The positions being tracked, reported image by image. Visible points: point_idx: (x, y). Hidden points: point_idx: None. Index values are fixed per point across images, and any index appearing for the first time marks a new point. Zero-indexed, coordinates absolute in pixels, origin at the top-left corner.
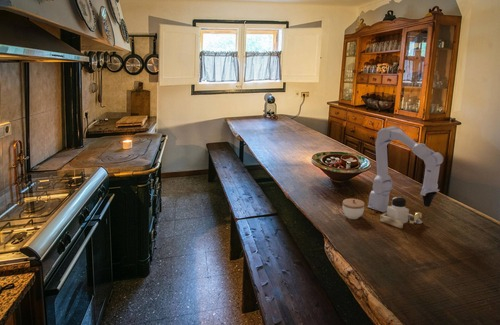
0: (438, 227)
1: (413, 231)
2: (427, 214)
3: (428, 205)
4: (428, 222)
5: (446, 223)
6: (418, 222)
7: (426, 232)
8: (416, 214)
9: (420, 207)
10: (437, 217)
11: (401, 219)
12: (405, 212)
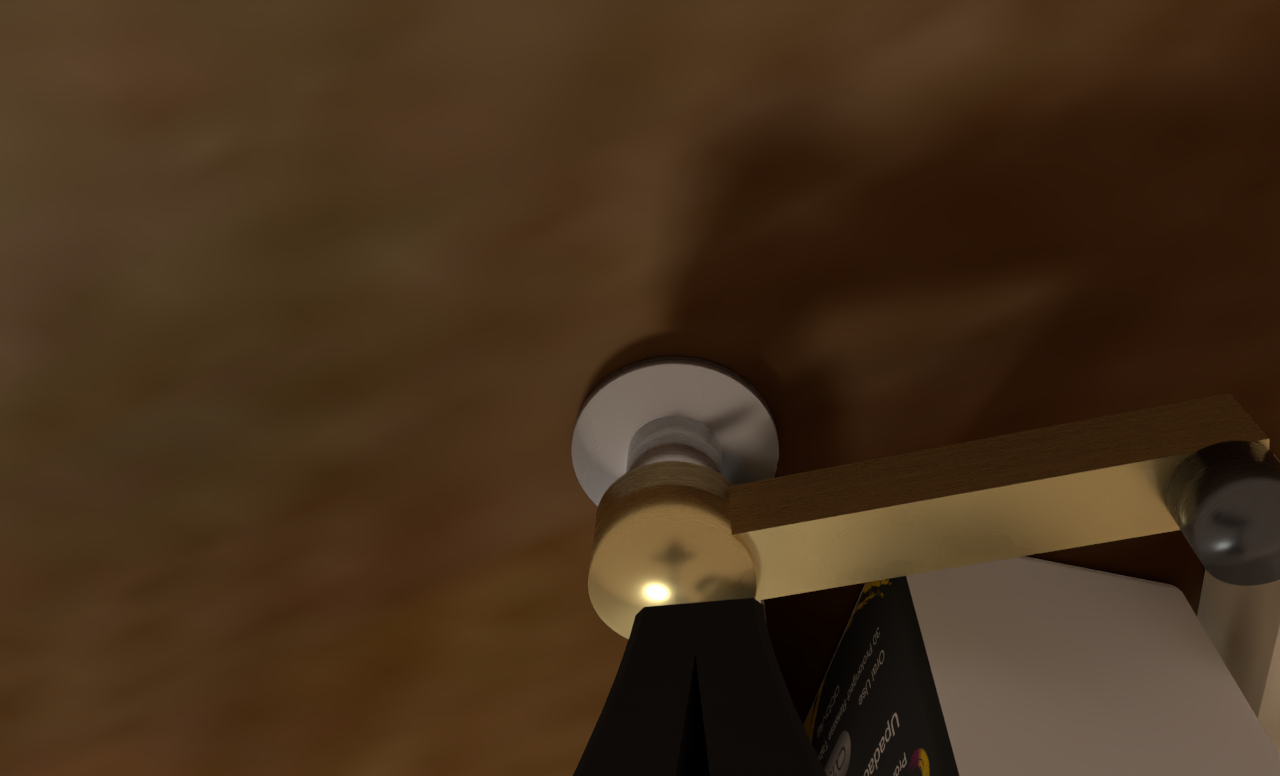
0: (522, 2)
1: (1251, 244)
2: (138, 503)
3: (770, 652)
4: (481, 297)
5: (104, 8)
6: (722, 408)
7: (1080, 27)
8: (756, 584)
9: (10, 707)
10: (43, 317)
11: (1104, 638)
12: (1061, 756)
